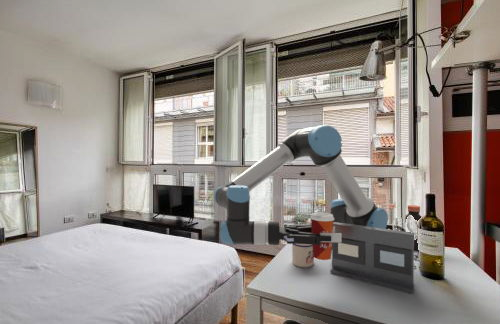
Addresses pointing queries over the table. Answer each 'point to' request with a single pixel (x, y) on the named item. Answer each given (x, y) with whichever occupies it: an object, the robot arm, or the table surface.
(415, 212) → the bottle
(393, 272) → the panel
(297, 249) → the teacup with lid
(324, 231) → the paper cup
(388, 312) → the table surface
